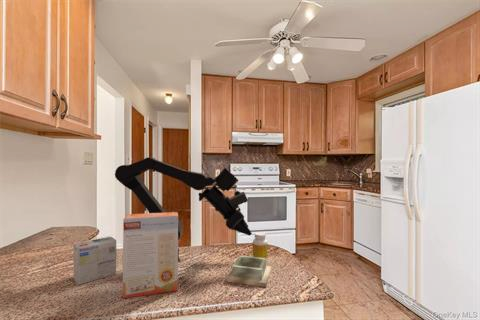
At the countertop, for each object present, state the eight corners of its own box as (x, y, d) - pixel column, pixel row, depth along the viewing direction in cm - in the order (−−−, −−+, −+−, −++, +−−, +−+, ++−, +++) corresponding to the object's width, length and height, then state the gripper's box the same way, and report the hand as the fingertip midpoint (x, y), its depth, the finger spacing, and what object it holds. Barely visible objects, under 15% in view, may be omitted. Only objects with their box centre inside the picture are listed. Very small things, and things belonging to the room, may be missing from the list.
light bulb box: (110, 267, 81) (110, 235, 81) (117, 274, 76) (117, 239, 76) (72, 277, 74) (72, 242, 74) (76, 286, 69) (77, 247, 69)
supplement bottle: (266, 264, 85) (266, 236, 85) (251, 262, 86) (251, 235, 86) (268, 258, 90) (268, 232, 90) (253, 257, 91) (253, 231, 91)
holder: (226, 281, 72) (226, 267, 72) (236, 264, 84) (237, 253, 84) (266, 286, 69) (266, 272, 69) (271, 269, 81) (271, 257, 81)
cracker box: (177, 281, 72) (178, 210, 72) (177, 292, 66) (178, 215, 66) (125, 287, 68) (127, 213, 68) (121, 299, 62) (123, 217, 63)
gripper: (236, 187, 78) (270, 220, 79) (233, 182, 97) (260, 209, 98) (211, 212, 77) (246, 245, 78) (213, 202, 96) (240, 229, 97)
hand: (249, 230), depth 88 cm, fingers open, 9 cm apart
